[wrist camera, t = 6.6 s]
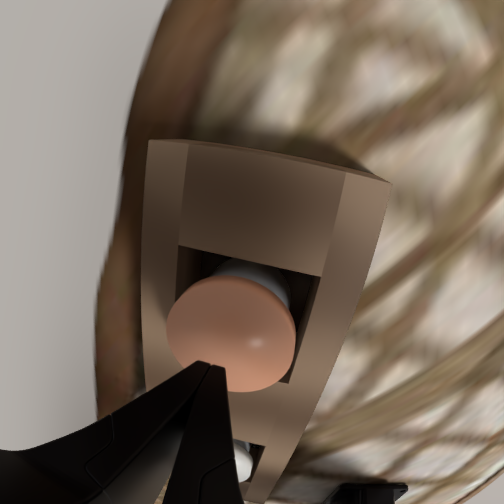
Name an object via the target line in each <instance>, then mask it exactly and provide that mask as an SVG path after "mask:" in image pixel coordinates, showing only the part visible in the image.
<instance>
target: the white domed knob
mask: <svg viewBox="0 0 504 504" xmlns="http://www.w3.org/2000/svg"><path fill="white" fill-rule="evenodd" d="M233 443H234V452H235V460H236V467H237V474H238V480H239V482H242V481H245V480H246V479H248V478H249V476H250V473H251V469H252V465H253V459H252V457H251V455H250V454H249V450H250V446H251V443H250V442H246V441H241V440H237V439H233Z"/></svg>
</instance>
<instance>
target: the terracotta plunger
mask: <svg viewBox="0 0 504 504" xmlns="http://www.w3.org/2000/svg"><path fill="white" fill-rule="evenodd" d="M290 302H291V293H290V288H289V285H288V283H287V280H286V279H285V277H284V276H283V274H282V273H281V272H280V271H279V270H278V269H277V268H276V267H274V266H270V265H265V264H261V263H256V262H252V261H247V260H243V259H238V258H232V259H230V260H227V261H225V262H224V263H222V264H221V265H220V266H219V267H218V268H217V269H216V270H215V271H214V272H213V274H212V275H211V276H210V277H208V278H205V279H202V280H200V281H198V282H196V283H194V284H193V285H191V286H190V287H189V288H188V289H187V290H186V291H185V292H184V293H183V294H182V295H181V297H180V298H179V299H178V300H177V301H176V303H175V304H174V305H173V307H172V308H171V310H170V312H169V314H168V318H167V322H166V336H167V340H168V344H169V346H170V349H171V351H172V353H173V355H174V356H175V358H176V359H177V361H178V362H179V363H180V364H181V366H182V367H183V368H186V367H187V366H189V365H190V364H192V363H194V362H195V361H197V360H201V361H204V362H208V363H210V364H211V365H213V364H215V365H218V366H222V367H225V369H226V377H227V387H228V391H231V392H252V391H257V390H261V389H264V388H266V387H269V386H271V385H273V384H274V383H276V382H277V381H278V380H280V379H281V378H282V377H283V376H284V375H285V374H286V372H287V371H288V369H289V368H290V365H291V363H292V360H293V356H294V349H295V341H296V329H295V324H294V321H293V318H292V316H291V313H290V311H289V308H290Z"/></svg>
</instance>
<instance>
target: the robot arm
mask: <svg viewBox="0 0 504 504" xmlns="http://www.w3.org/2000/svg"><path fill="white" fill-rule="evenodd" d="M170 473H171V476H170V479H169V483H168V486H167V489H166V493H165V496H164V499H163V503H162V504H244V501H243V497H242V493H241V490H240V485H239V480H238V474H237V467H236V460H235V452H234V443H233V434H232V426H231V416H230V407H229V397H228V387H227V377H226V369H225V367H222V366H218V365H215V364H213V365H211V364H210V363H208V362H204V361H201V360H197V361H195V362H194V363H192V364H190V365H189V366H187V367H186V368H184V369H183V370H181V371H180V372H178V373H176V374H175V375H173V376H172V377H170V378H169V379H167V380H165V381H164V382H162V383H161V384H159V385H157V386H156V387H154V388H153V389H151V390H149V391H148V392H146V393H144V394H143V395H141V396H139V397H138V398H136V399H134V400H133V401H131V402H129V403H128V404H126V405H124V406H123V407H121V408H119V409H118V410H116V411H114V412H113V413H111V415H107V416H105V417H104V418H102V419H100V420H98V421H96V422H95V423H93V424H91V425H89V426H87V427H85V428H83V429H81V430H78V431H76V432H74V433H71V434H69V435H66V436H64V437H61V438H59V439H56V440H53V441H51V442H48V443H45V444H43V445H40V446H37V447H34V448H30V449H26V450H19V451H8V450H1V449H0V504H154V503H155V501H156V499H157V497H158V495H159V494H160V492H161V490H162V488H163V486H164V484H165V483H166V481H167V479H168V477H169V475H170ZM407 491H408V486H407V485H354V484H342V485H340V486H338V487H337V488H336V490H335V491H334V492H333V493H332V494H331V495H330V496H329V497H328V498H327V499H326V500H325V501H324V502H323V503H322V504H395V501H396V500H397V499H399V498H400V497H401V496H402V495H403V494H405V493H406V492H407Z"/></svg>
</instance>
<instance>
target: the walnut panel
mask: <svg viewBox="0 0 504 504" xmlns="http://www.w3.org/2000/svg"><path fill="white" fill-rule="evenodd" d="M391 188H392V184H391V183H390V182H388V181H386V180H384V179H382V178H380V177H378V176H376V175H375V174H371V173H367V172H363V171H359V170H355V169H351V168H347V167H343V166H339V165H334V164H330V163H326V162H321V161H316V160H312V159H307V158H302V157H297V156H292V155H287V154H282V153H276V152H271V151H265V150H259V149H253V148H247V147H240V146H234V145H227V144H220V143H212V142H205V141H197V140H188V139H159V140H149V143H148V152H147V162H146V173H145V185H144V199H143V216H142V240H141V317H142V340H143V357H144V371H145V383H146V392H148V391H149V390H151V389H153V388H154V387H156V386H157V385H159V384H161V383H162V382H164V381H165V380H167V379H169V378H170V377H172V376H173V375H175V374H176V373H178V372H180V371H181V370H183V369H184V368H183V367H182V366H181V364H180V363H179V362H178V361H177V359H176V358H175V356H174V355H173V353H172V351H171V349H170V346H169V344H168V340H167V336H166V322H167V318H168V314H169V312H170V310H171V308H172V307H173V305H174V304H175V303H176V301H177V300H178V299H179V298H180V297H181V295H182V294H183V293H184V292H185V291H186V290H187V289H188V288H189V287H190V286H191V285H193V284H194V283H196V282H198V281H200V273H201V263H202V253H203V251H207V252H212V253H216V254H220V255H225V256H229V257H234V258H238V259H243V260H247V261H252V262H256V263H261V264H265V265H270V266H274V267H279V268H283V269H288V270H292V271H297V272H301V273H306V274H310V275H313V277H312V281H311V285H310V288H309V292H308V296H307V300H306V303H305V307H304V310H303V314H302V317H301V321H300V324H299V328H298V331H297V335H296V341H295V349H294V356H293V360H292V363H291V365H290V368H289V369H288V371H287V372H286V374H285V375H284V376H283V377H282V378H281V379H280V380H278V381H277V382H276V383H274V384H273V385H271V386H269V387H266V388H264V389H261V390H257V391H252V392H231V391H228V397H229V407H230V416H231V426H232V434H233V439H237V440H241V441H246V442H250V443H254V444H259V445H260V448H259V449H258V448H253V447H250V450H249V454H250V455H251V457H252V459H253V465H252V469H251V473H250V476H249V478H248V479H246V480H245V481H242V482H239V485H240V490H241V493H242V497H243V500H244V501H249V502H254V503H259V504H264V503H265V501H266V500H267V498H268V496H269V495H270V493H271V491H272V490H273V488H274V486H275V484H276V483H277V481H278V479H279V477H280V476H281V474H282V472H283V470H284V469H285V467H286V465H287V463H288V461H289V459H290V458H291V456H292V454H293V452H294V450H295V448H296V446H297V444H298V442H299V440H300V438H301V436H302V434H303V432H304V430H305V428H306V426H307V424H308V422H309V420H310V418H311V416H312V414H313V412H314V410H315V408H316V405H317V403H318V401H319V399H320V397H321V394H322V392H323V390H324V388H325V385H326V383H327V381H328V379H329V376H330V374H331V372H332V369H333V367H334V364H335V362H336V359H337V357H338V355H339V352H340V350H341V347H342V345H343V342H344V339H345V337H346V334H347V332H348V329H349V326H350V324H351V321H352V318H353V315H354V313H355V310H356V307H357V304H358V301H359V298H360V295H361V293H362V290H363V287H364V284H365V280H366V277H367V274H368V271H369V268H370V265H371V262H372V258H373V255H374V252H375V248H376V245H377V241H378V238H379V234H380V231H381V227H382V223H383V220H384V216H385V212H386V208H387V204H388V200H389V196H390V192H391ZM170 476H171V473H170V475H169V477H168V479H170Z"/></svg>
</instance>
